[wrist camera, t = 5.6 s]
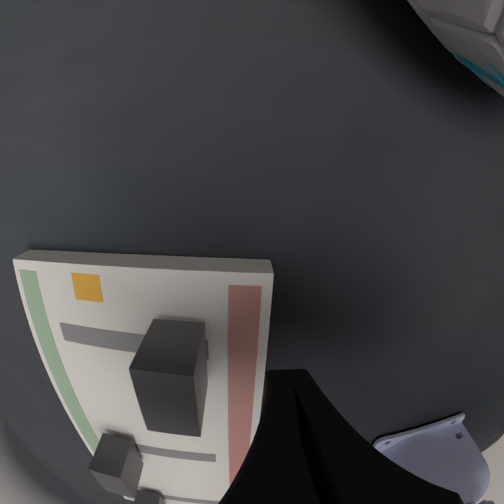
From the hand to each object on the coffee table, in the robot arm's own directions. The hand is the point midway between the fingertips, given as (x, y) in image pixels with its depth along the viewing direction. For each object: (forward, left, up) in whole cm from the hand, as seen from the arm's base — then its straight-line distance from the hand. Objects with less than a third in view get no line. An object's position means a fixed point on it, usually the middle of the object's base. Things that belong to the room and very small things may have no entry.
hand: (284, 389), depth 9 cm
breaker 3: (+4, 0, -2) cm, 4 cm away
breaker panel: (+6, +9, -4) cm, 12 cm away
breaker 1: (+9, +9, -2) cm, 13 cm away
